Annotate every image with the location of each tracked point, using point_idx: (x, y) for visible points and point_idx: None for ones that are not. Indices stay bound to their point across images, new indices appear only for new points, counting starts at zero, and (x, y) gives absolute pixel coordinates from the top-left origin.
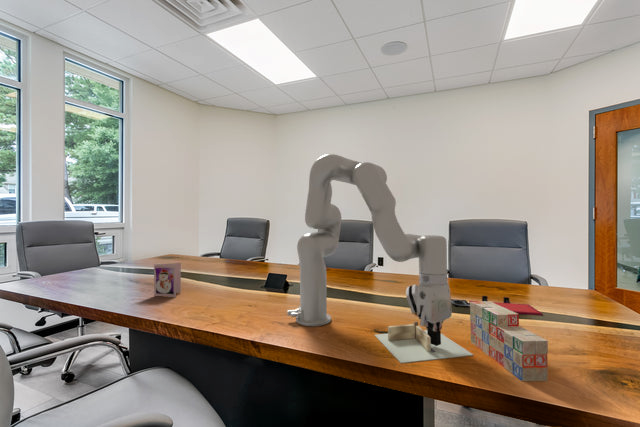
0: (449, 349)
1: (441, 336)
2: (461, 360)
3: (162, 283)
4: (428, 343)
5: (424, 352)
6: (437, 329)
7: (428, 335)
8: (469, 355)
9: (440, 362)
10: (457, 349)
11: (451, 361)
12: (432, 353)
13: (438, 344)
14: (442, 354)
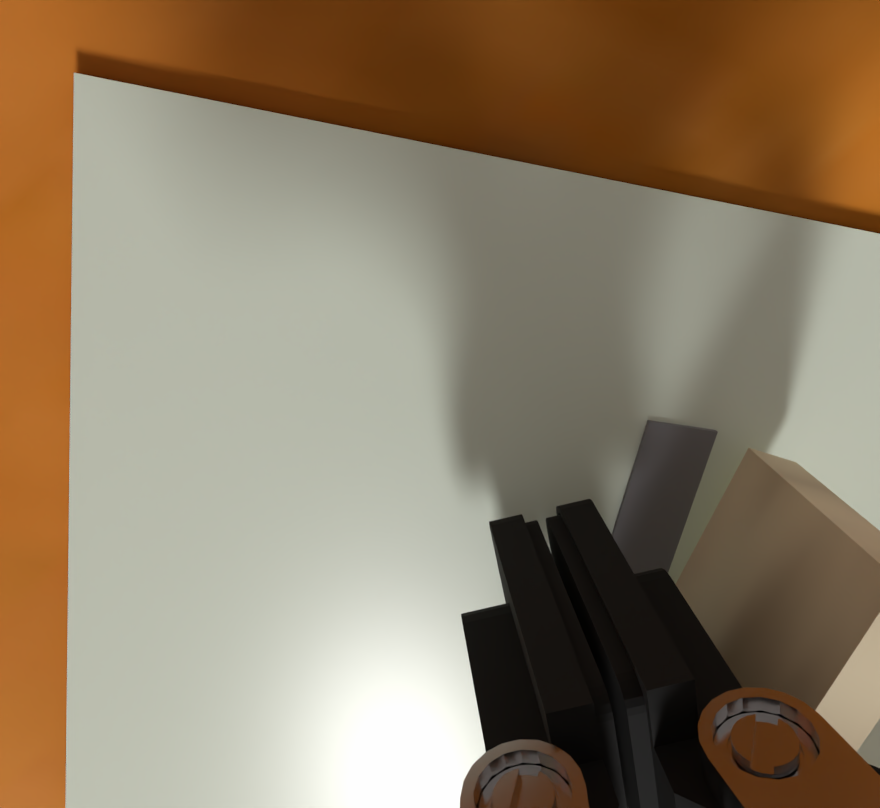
0: (365, 408)
1: (137, 790)
2: (472, 9)
3: None
4: (849, 520)
5: (819, 462)
6: (591, 774)
7: (850, 664)
8: (171, 92)
9: (867, 113)
10: (224, 360)
11: (672, 59)
12: (741, 394)
13: (562, 509)
14: (626, 308)
